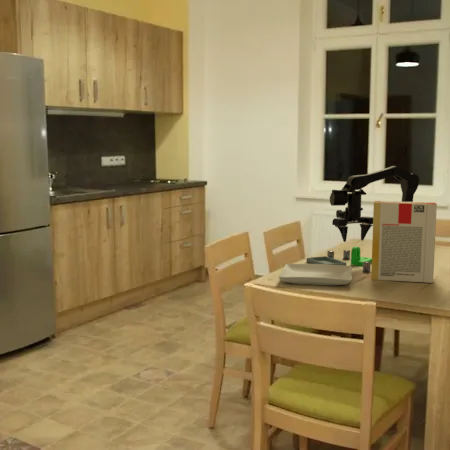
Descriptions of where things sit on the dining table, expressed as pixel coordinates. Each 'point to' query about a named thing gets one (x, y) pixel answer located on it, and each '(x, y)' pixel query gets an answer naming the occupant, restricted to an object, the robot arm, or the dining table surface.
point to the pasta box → (403, 241)
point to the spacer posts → (347, 256)
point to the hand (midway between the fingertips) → (353, 241)
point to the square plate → (316, 274)
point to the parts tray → (325, 261)
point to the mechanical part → (358, 257)
